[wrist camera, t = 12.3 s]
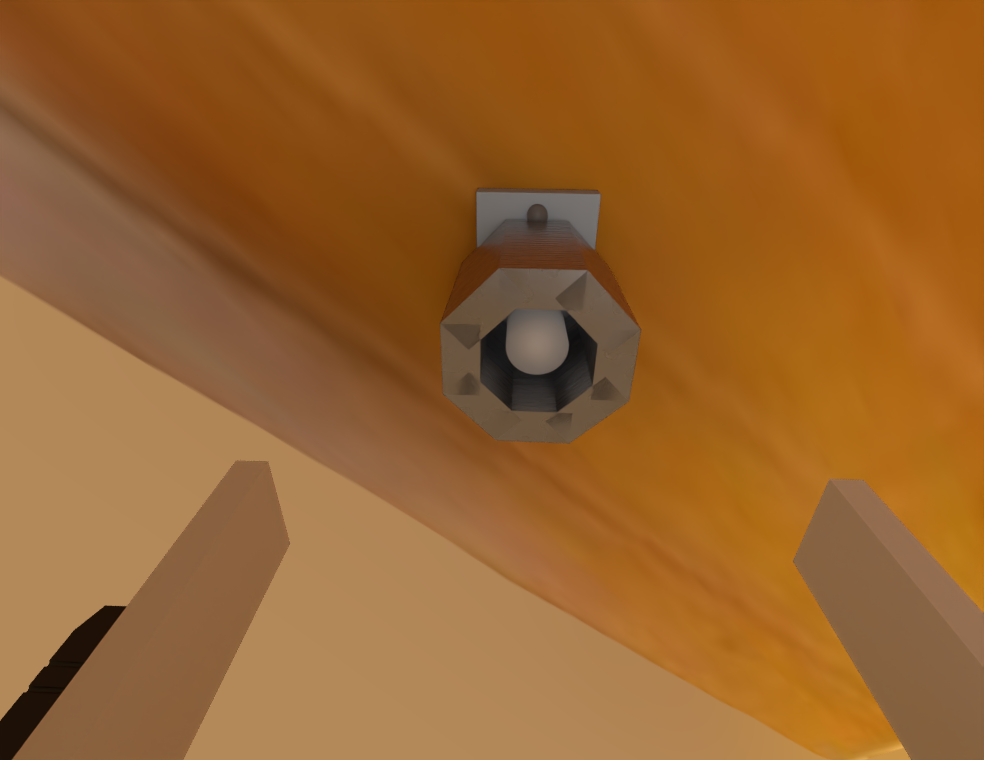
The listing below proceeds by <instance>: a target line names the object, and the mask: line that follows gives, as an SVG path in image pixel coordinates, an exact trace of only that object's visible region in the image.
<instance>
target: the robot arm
mask: <svg viewBox="0 0 984 760" xmlns="http://www.w3.org/2000/svg"><path fill="white" fill-rule="evenodd" d="M289 545H290V542H289V538H288V534H287V530H286V527H285V523H284V519H283V515H282V512H281V508H280V504H279V501H278V497H277V493H276V489H275V486H274V482H273V478H272V475H271V471H270V467H269V463H268V462H265V461H236V462H235V463H234V464H233V466H232V467H231V468H230V470H229V471H228V472H227V474H226V475H225V476H224V478H223V479H222V480H221V482H220V483H219V484H218V486H217V487H216V488H215V490H214V491H213V492H212V494H211V495H210V496H209V498H208V499H207V500H206V502H205V503H204V505H203V506H202V507H201V509H200V510H199V511H198V512H197V514H196V515H195V516H194V518H193V519H192V521H191V522H190V523H189V525H188V526H187V527H186V528H185V530H184V531H183V532H182V534H181V535H180V536H179V538H178V539H177V540H176V542H175V543H174V544H173V546H172V547H171V548H170V550H169V551H168V552H167V554H166V555H165V556H164V558H163V559H162V560H161V562H160V563H159V564H158V566H157V567H156V568H155V570H154V571H153V572H152V574H151V575H150V576H149V578H148V579H147V580H146V582H145V583H144V584H143V586H142V587H141V588H140V590H139V591H138V592H137V594H136V595H135V596H134V598H133V599H132V600H131V602H130V603H129V604H128V606H104V607H103V608H102V609H100V610H99V611H98V612H97V613H95V614H94V615H93V616H92V617H90V618H89V619H88V620H87V621H85V622H84V623H83V624H82V625H80V626H79V627H78V628H77V629H75V630H74V631H73V632H72V633H71V635H70V636H69V637H68V639H67V640H66V641H65V642H64V643H63V645H62V646H61V647H60V648H59V649H58V651H57V652H56V653H55V654H54V655H53V657H52V658H51V659H50V663H49V665H48V666H47V667H44V668H43V669H42V670H41V671H40V673H39V674H38V675H37V676H36V678H35V679H34V680H33V681H32V682H31V684H30V685H29V689H28V691H27V692H26V693H23V694H22V695H21V696H20V697H19V699H18V700H17V701H16V702H15V703H14V705H13V706H12V707H11V708H10V710H9V711H8V712H7V713H6V714H5V716H4V717H3V718H2V719H1V721H0V760H183V759H184V757H185V755H186V753H187V751H188V749H189V747H190V745H191V743H192V741H193V739H194V737H195V735H196V733H197V731H198V729H199V727H200V725H201V723H202V721H203V719H204V717H205V715H206V713H207V711H208V709H209V707H210V705H211V703H212V701H213V699H214V697H215V694H216V692H217V690H218V688H219V686H220V684H221V682H222V680H223V678H224V676H225V674H226V672H227V670H228V668H229V666H230V664H231V662H232V660H233V658H234V656H235V654H236V652H237V650H238V648H239V646H240V644H241V642H242V640H243V638H244V636H245V634H246V632H247V630H248V628H249V626H250V623H251V622H252V620H253V617H254V615H255V613H256V611H257V609H258V607H259V605H260V603H261V601H262V599H263V597H264V595H265V593H266V591H267V589H268V587H269V585H270V583H271V581H272V579H273V577H274V575H275V573H276V570H277V569H278V567H279V565H280V563H281V561H282V559H283V556H284V555H285V553H286V551H287V549H288V547H289ZM793 562H794V564H795V565H796V567H797V569H798V570H799V572H800V574H801V575H802V577H803V579H804V581H805V582H806V584H807V586H808V587H809V589H810V591H811V592H812V594H813V596H814V597H815V599H816V601H817V602H818V604H819V606H820V607H821V609H822V611H823V612H824V614H825V616H826V617H827V619H828V621H829V622H830V624H831V626H832V628H833V629H834V631H835V633H836V634H837V636H838V638H839V639H840V641H841V643H842V644H843V646H844V648H845V649H846V651H847V653H848V654H849V656H850V658H851V659H852V661H853V663H854V664H855V666H856V668H857V669H858V671H859V673H860V675H861V676H862V678H863V680H864V681H865V683H866V685H867V686H868V688H869V690H870V691H871V693H872V695H873V696H874V698H875V700H876V701H877V703H878V705H879V706H880V708H881V710H882V711H883V713H884V715H885V717H886V718H887V720H888V722H889V723H890V725H891V727H892V728H893V730H894V732H895V733H896V735H897V737H898V738H899V740H900V742H901V743H902V745H903V747H904V748H905V750H906V752H907V753H908V755H909V757H910V758H911V760H984V613H983V612H982V611H981V610H980V609H979V608H978V607H977V605H976V604H975V603H974V602H973V601H972V600H971V599H970V598H969V597H968V595H967V594H966V593H965V592H964V591H963V590H962V589H961V588H960V587H959V585H958V584H957V583H956V582H955V581H954V580H953V579H952V578H951V577H950V575H949V574H948V573H947V572H946V571H945V570H944V569H943V568H942V567H941V565H940V564H939V563H938V562H937V561H936V560H935V559H934V558H933V557H932V555H931V554H930V553H929V552H928V551H927V550H926V549H925V548H924V547H923V545H922V544H921V543H920V542H919V541H918V540H917V539H916V538H915V537H914V536H913V534H912V533H911V532H910V531H909V530H908V529H907V528H906V527H905V526H904V524H903V523H902V522H901V521H900V520H899V519H898V518H897V517H896V516H895V514H894V513H893V512H892V511H891V510H890V509H889V508H888V507H887V506H886V504H885V503H884V502H883V501H882V500H881V499H880V498H879V497H878V496H877V494H876V493H875V492H874V491H873V490H872V489H871V488H870V487H869V486H868V484H867V483H866V482H865V481H864V480H847V479H829V482H828V484H827V486H826V488H825V491H824V493H823V495H822V497H821V500H820V502H819V504H818V506H817V508H816V511H815V513H814V515H813V517H812V520H811V522H810V524H809V526H808V529H807V531H806V533H805V535H804V538H803V540H802V542H801V544H800V547H799V549H798V551H797V553H796V556H795V558H794V560H793Z"/></svg>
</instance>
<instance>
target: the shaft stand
mask: <svg viewBox="0 0 984 760" xmlns="http://www.w3.org/2000/svg"><path fill="white" fill-rule="evenodd" d="M600 197H601V194H600V193H599V191H598V190H558V189H502V188H478V190H477V248H478V247H479V246H480V245H481V244H482V243H483V242H484V241H485V240H486V239H487V238H488V237H489V236H490V235H491V234H492V233H493V232H494V231H495V230H496V229H497V228H498V227H499V226H500V225H501V224H502V223H503V222H504V221H505V220H538V221H569V222H570V223H571V224H572V225H573V226H574V227H575V229H576V230H577V231H578V232H579V233H580V234H581V235H582V237H583V238H584V239H585V240H586V241H587V242H588V243H589V245H590V246H591V247H592V248H593V249H594V250H595V243H596V234H597V225H598V216H599V207H600ZM569 315H570V314H569V313H568V312H567V311H566V310H535V309H515V310H514V311H513V312H512V313H510V314H509V315H508V316H507V317H506V318H505V319H504V321H505V322H506V323H507V334H506V352H507V356H508V358H509V360H510V362H511V363H512V364H513V365H514V366H515V367H516V368H517V369H519V370H520V371H522V372H525V373H528V374H534V375H540V374H545V373H549V372H551V371H553V370H555V369H556V368H558V367H559V366H560V365H561V364H562V363H563V362H564V360H565V358H566V356H567V354H568V349H569V342H568V337H567V332H566V327H565V322H564V319H565V318H566V317H568V316H569Z"/></svg>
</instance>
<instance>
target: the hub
mask: <svg viewBox="0 0 984 760" xmlns="http://www.w3.org/2000/svg"><path fill="white" fill-rule="evenodd" d="M515 309H535V310H566V311H567V312H568V313H569V314H570V315H569V316H568V317H566V318H565V319H564V322H565V327H566V332H567V337H568V342H569V349H568V354H567V356H566V358H565V360H564V362H563V363H562V364H561V365H560V366H559V367H558V368H556V369H555V370H553V371H551V372H549V373H545V374H540V375H534V374H528V373H525V372H522V371H520V370H519V369H517V368H516V367H515V366H514V365H513V364H512V363H511V362H510V360H509V358H508V356H507V352H506V334H507V323H506V322H505V321H504V319H505V318H506V317H507V316H508V315H509V314H510V313H512V312H513V311H514V310H515ZM640 333H641V329H640V327H639V325H638V323H637V321H636V319H635V317H634V315H633V313H632V311H631V309H630V307H629V305H628V303H627V301H626V299H625V297H624V296H623V294H622V292H621V290H620V288H619V286H618V284H617V282H616V280H615V278H614V276H613V274H612V272H611V270H610V268H609V266H608V265H607V264H606V263H605V262H604V261H603V259H602V258H601V257H600V256H599V255H598V254H597V253H596V251H595V250H594V249H593V248H592V247H591V246H590V245H589V243H588V242H587V241H586V240H585V239H584V238H583V237H582V235H581V234H580V233H579V232H578V231H577V230H576V229H575V227H574V226H573V225H572V224H571V223H570V222H569V221H538V220H505V221H504V222H503V223H502V224H501V225H500V226H499V227H498V228H497V229H496V230H495V231H494V232H493V233H492V234H491V235H490V236H489V237H488V238H487V239H486V240H485V241H484V242H483V243H482V244H481V245H480V246H479V247H478V248H477V249H476V250H475V251H474V252H473V253H472V254H471V255H469V256H468V257H467V258H466V259H465V260H464V261H463V262H462V265H461V268H460V270H459V273H458V276H457V279H456V281H455V284H454V287H453V290H452V292H451V295H450V298H449V300H448V303H447V306H446V309H445V311H444V314H443V317H442V320H441V322H440V334H441V358H442V382H443V395H444V396H446V397H447V398H448V399H449V400H450V401H451V402H453V403H454V404H455V405H456V406H457V407H458V408H459V409H461V410H462V411H463V412H464V413H465V414H466V415H467V416H469V417H470V418H471V419H472V420H473V421H474V422H476V423H477V424H478V425H479V426H480V427H481V428H482V429H484V430H485V431H486V432H487V433H488V434H489V435H490V436H492V437H493V438H494V439H495V440H500V441H524V442H548V443H570V442H572V441H573V440H575V439H576V438H577V437H579V436H580V435H582V434H583V433H585V432H586V431H587V430H589V429H590V428H592V427H593V426H595V425H596V424H597V423H599V422H600V421H602V420H603V419H604V418H606V417H607V416H609V415H610V414H612V413H613V412H614V411H616V410H617V409H619V408H620V407H621V406H623V405H624V404H626V403H627V402H629V398H630V392H631V386H632V380H633V374H634V369H635V363H636V357H637V351H638V345H639V339H640Z"/></svg>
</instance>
